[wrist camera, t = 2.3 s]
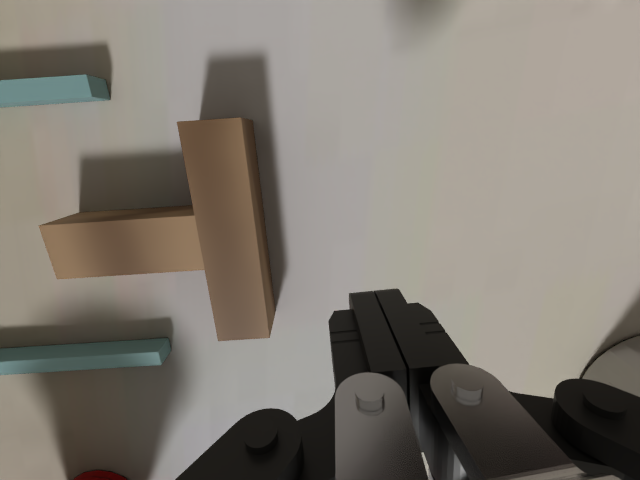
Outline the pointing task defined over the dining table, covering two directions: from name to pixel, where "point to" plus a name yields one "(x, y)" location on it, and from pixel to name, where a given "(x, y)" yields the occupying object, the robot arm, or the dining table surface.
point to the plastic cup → (99, 476)
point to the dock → (83, 353)
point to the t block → (188, 231)
